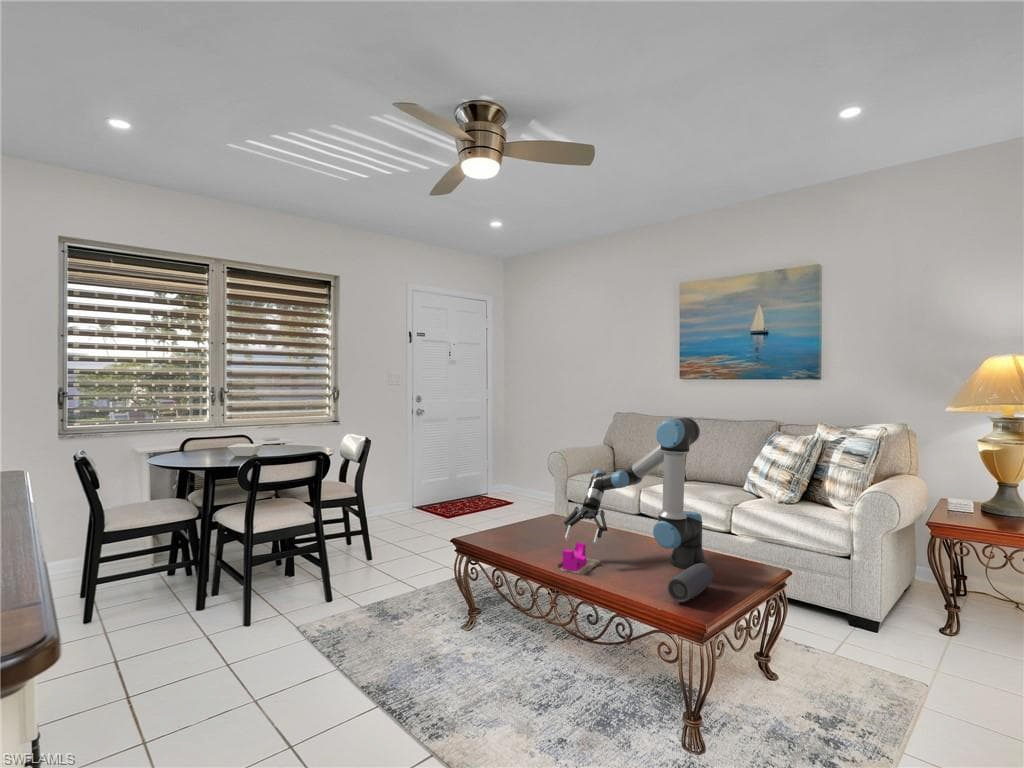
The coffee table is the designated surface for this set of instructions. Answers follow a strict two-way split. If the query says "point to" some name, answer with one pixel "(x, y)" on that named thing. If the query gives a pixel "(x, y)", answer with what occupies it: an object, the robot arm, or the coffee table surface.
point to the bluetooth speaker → (690, 582)
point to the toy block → (575, 557)
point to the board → (589, 565)
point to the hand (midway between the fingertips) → (580, 541)
